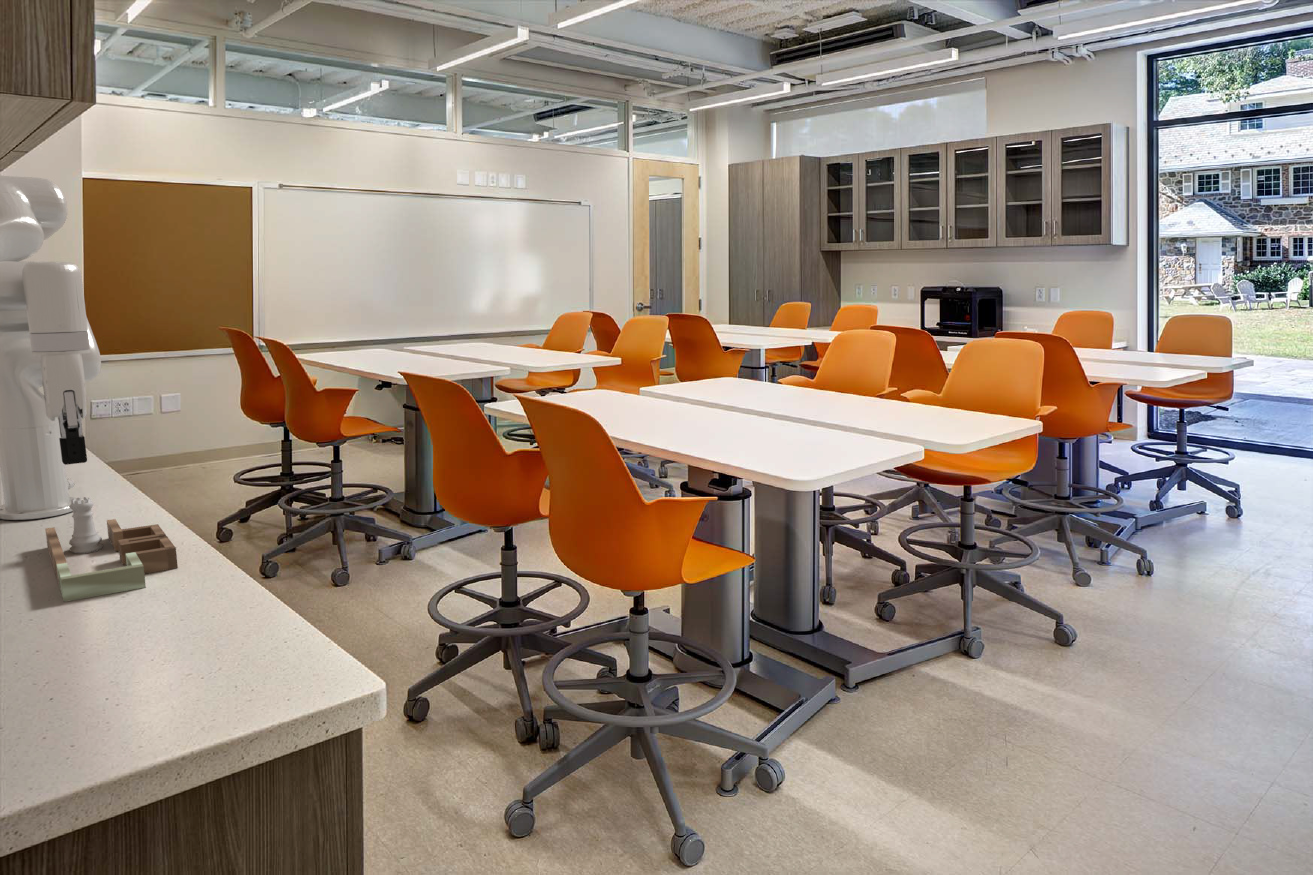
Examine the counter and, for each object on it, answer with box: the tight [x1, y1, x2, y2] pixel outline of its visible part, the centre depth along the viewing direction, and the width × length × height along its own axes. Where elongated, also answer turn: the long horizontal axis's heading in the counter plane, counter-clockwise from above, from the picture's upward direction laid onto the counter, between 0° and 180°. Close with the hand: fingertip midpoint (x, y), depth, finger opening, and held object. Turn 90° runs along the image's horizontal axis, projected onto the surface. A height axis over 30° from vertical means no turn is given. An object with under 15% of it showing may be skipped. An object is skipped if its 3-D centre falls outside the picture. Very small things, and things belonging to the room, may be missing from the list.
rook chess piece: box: [68, 496, 104, 555], centre depth 141 cm, size 4×4×8 cm
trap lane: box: [44, 518, 179, 602], centre depth 135 cm, size 29×14×3 cm, turn 37°
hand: (74, 462), depth 144 cm, fingers closed
